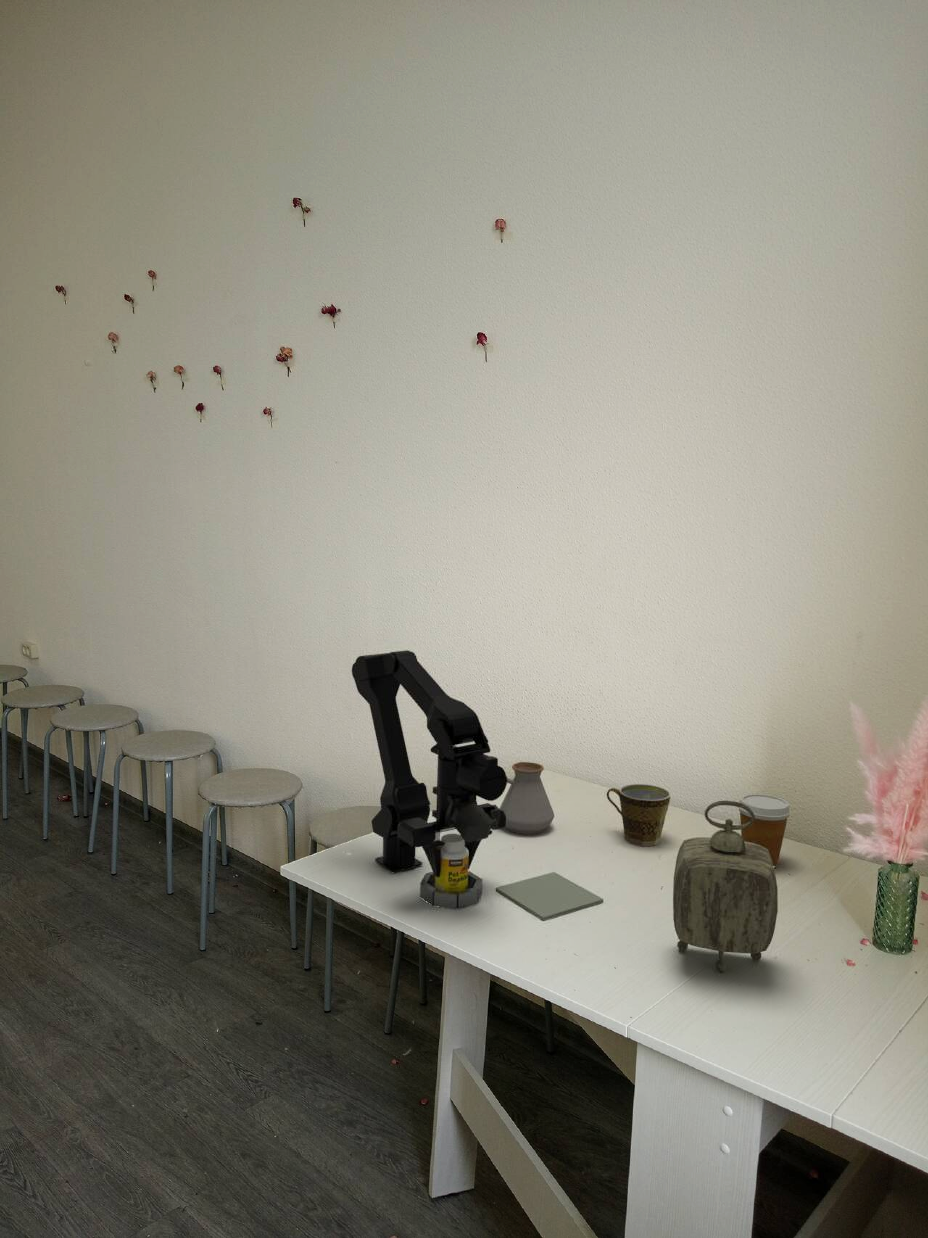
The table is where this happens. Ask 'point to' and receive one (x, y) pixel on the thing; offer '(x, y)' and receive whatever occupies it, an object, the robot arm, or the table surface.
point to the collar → (451, 893)
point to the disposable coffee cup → (765, 822)
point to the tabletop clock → (725, 892)
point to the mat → (549, 895)
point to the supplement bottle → (453, 864)
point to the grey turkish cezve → (527, 800)
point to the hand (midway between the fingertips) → (451, 872)
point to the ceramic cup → (642, 812)
